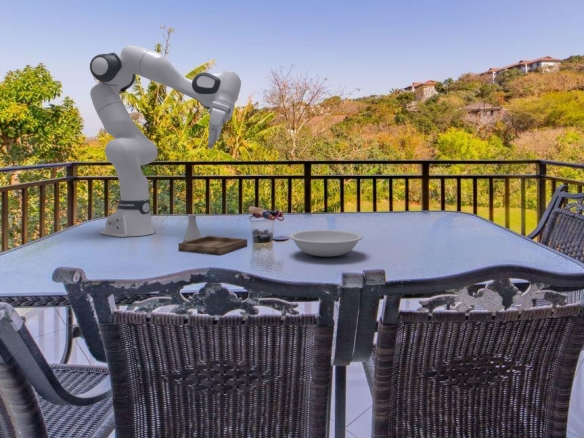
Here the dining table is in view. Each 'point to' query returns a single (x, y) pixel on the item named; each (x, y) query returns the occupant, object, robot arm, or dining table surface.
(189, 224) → the flask
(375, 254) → the dining table surface
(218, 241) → the walnut tray
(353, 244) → the soup bowl
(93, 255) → the dining table surface
